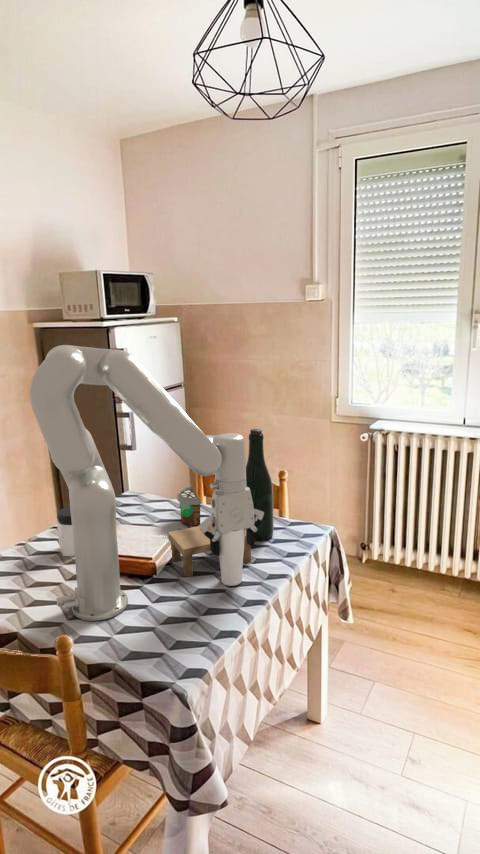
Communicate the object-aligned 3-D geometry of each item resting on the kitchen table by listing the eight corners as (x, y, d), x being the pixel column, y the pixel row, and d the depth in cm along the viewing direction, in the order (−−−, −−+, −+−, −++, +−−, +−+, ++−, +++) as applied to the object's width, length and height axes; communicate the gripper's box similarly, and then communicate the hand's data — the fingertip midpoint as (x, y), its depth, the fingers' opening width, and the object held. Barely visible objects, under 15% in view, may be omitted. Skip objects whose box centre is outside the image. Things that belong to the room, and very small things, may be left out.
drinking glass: (242, 589, 129) (241, 532, 126) (215, 587, 130) (214, 530, 127) (247, 576, 135) (246, 521, 132) (221, 574, 137) (220, 519, 133)
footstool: (184, 578, 135) (183, 549, 133) (169, 559, 145) (167, 532, 143) (253, 561, 143) (253, 534, 142) (234, 544, 154) (233, 518, 152)
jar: (57, 547, 153) (53, 508, 150) (85, 541, 157) (82, 503, 154) (64, 559, 145) (61, 519, 143) (93, 552, 149) (91, 513, 147)
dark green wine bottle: (232, 534, 161) (230, 429, 154) (257, 525, 168) (257, 424, 160) (255, 545, 153) (255, 435, 146) (280, 535, 160) (281, 429, 153)
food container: (174, 516, 175) (173, 488, 173) (192, 514, 177) (192, 486, 175) (182, 530, 164) (180, 500, 162) (201, 528, 165) (200, 498, 163)
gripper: (204, 495, 120) (207, 564, 124) (269, 482, 128) (271, 547, 132) (191, 486, 127) (195, 551, 131) (255, 474, 134) (256, 536, 138)
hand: (233, 549), depth 131 cm, fingers open, 9 cm apart
